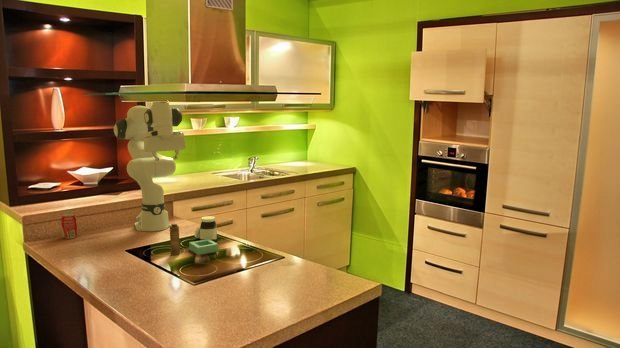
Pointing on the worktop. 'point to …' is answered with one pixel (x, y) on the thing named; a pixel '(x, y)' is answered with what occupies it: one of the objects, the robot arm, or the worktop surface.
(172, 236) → the brown textured cylinder
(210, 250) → the teal square tray
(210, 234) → the spread jar
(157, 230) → the robot arm
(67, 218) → the soda can
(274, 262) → the worktop surface
